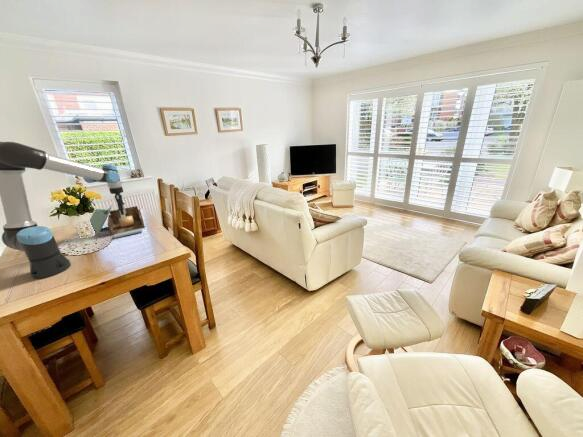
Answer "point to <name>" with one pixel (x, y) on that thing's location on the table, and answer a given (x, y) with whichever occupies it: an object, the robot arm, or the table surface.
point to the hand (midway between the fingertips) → (124, 216)
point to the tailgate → (127, 233)
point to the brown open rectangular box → (131, 211)
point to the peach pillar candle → (126, 221)
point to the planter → (99, 218)
